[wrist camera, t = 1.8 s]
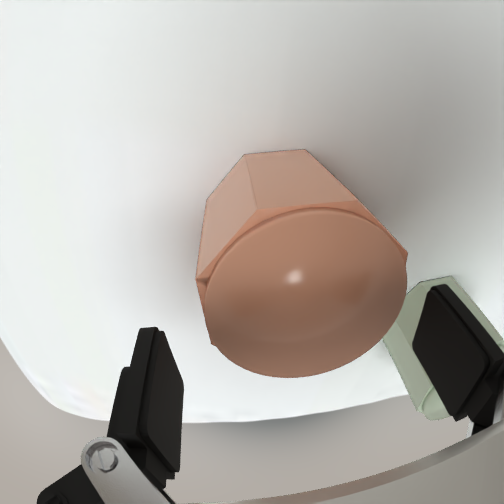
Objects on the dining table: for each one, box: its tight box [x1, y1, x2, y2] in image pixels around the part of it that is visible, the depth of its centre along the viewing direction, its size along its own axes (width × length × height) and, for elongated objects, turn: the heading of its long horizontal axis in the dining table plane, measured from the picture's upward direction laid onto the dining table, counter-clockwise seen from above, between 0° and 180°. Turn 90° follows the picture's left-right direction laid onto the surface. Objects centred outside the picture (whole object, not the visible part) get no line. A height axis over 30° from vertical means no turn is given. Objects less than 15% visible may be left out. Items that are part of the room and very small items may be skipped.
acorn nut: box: [383, 276, 504, 420], centre depth 20 cm, size 8×8×8 cm
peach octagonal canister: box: [195, 149, 408, 378], centre depth 14 cm, size 8×8×8 cm
